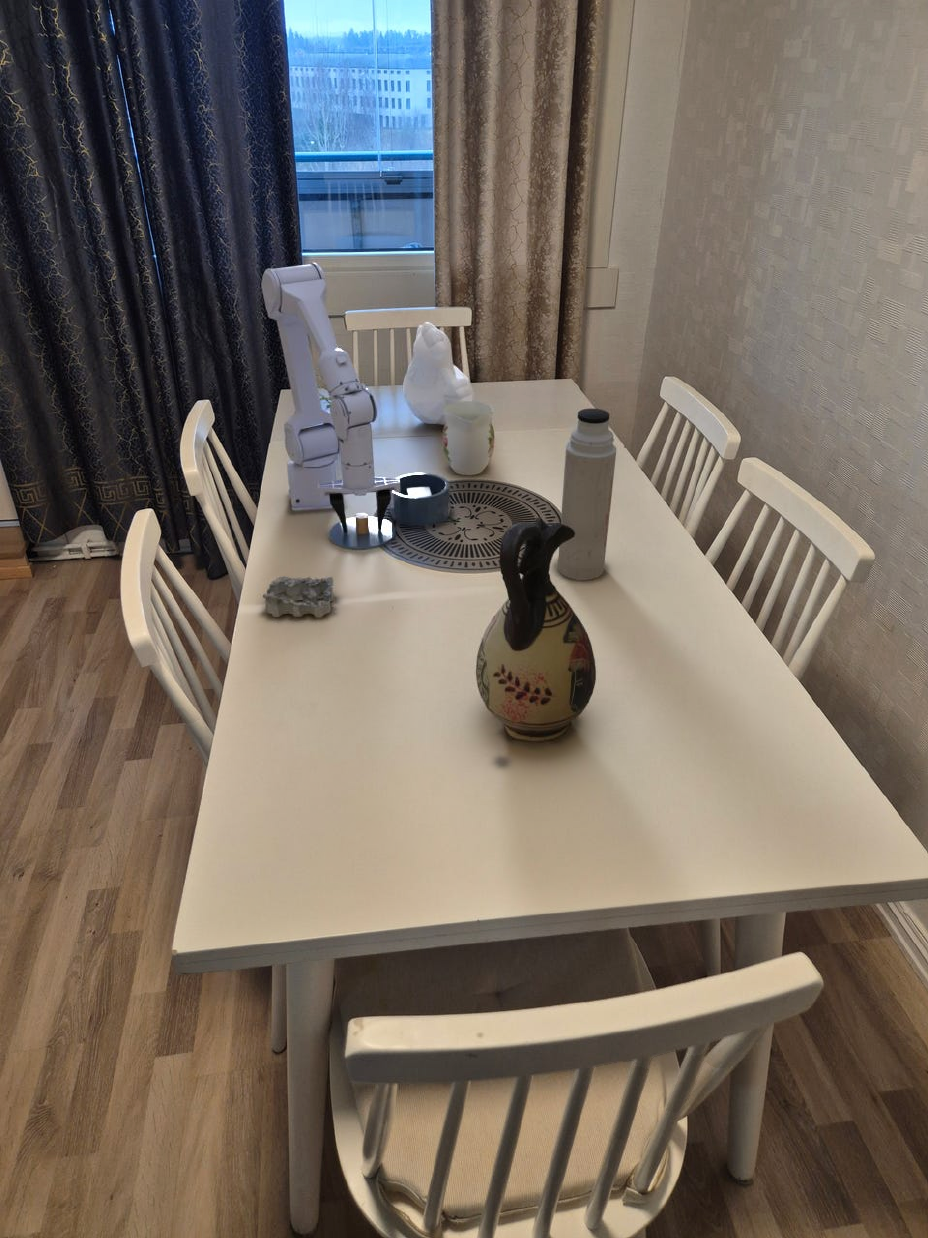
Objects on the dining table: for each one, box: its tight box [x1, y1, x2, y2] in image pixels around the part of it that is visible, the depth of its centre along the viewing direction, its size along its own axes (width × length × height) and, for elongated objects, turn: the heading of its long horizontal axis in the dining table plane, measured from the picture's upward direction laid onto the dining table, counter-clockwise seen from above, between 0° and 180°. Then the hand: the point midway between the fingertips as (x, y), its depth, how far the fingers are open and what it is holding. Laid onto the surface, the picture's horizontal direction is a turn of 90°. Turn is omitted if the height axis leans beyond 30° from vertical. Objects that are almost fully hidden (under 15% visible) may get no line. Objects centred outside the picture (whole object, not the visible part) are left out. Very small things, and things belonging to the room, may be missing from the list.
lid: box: [329, 512, 397, 551], centre depth 155 cm, size 12×12×4 cm
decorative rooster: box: [402, 321, 475, 426], centre depth 195 cm, size 25×16×25 cm
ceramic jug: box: [475, 516, 597, 762], centre depth 104 cm, size 17×15×30 cm
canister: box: [389, 472, 451, 527], centre depth 162 cm, size 11×11×6 cm
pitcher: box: [441, 401, 495, 476], centre depth 178 cm, size 11×18×14 cm, turn 2°
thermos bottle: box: [557, 407, 617, 581], centre depth 138 cm, size 8×8×28 cm
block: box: [406, 486, 432, 497], centre depth 162 cm, size 4×4×4 cm
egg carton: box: [262, 575, 335, 618], centre depth 135 cm, size 11×8×4 cm
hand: (362, 528), depth 155 cm, fingers open, 6 cm apart
